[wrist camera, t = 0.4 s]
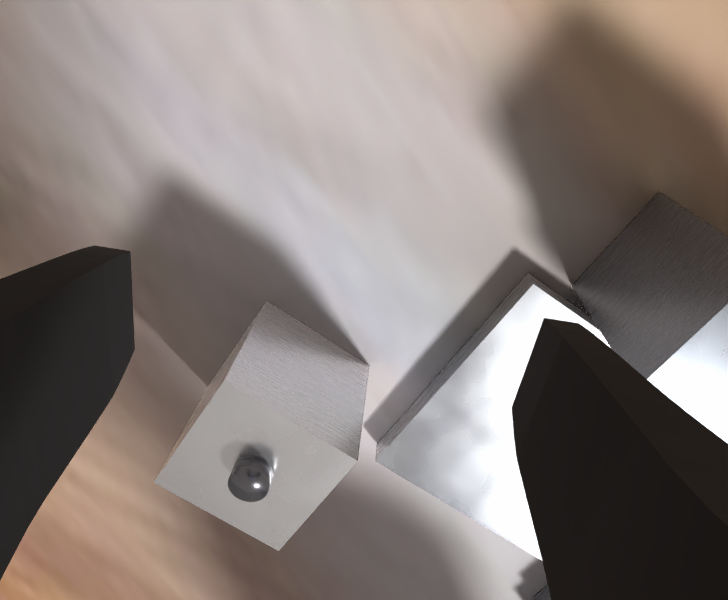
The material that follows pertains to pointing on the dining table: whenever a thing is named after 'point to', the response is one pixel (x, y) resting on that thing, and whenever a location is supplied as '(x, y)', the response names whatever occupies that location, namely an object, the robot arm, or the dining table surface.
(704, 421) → the press
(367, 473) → the dining table surface
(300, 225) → the dining table surface
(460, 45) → the dining table surface
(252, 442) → the block
